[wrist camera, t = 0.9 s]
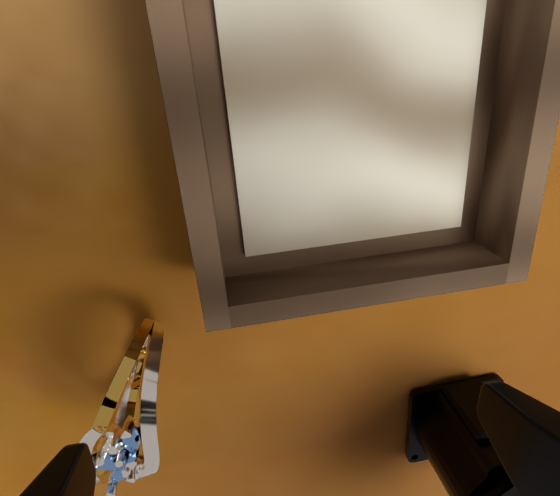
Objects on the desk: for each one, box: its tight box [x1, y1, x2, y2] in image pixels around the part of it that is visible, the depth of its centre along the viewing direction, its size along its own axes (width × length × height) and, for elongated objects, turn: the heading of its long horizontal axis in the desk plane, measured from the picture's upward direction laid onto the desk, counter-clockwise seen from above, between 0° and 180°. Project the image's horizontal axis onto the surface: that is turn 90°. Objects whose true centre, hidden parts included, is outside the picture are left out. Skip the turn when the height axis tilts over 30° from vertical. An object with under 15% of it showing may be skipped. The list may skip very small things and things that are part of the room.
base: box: [145, 0, 560, 332], centre depth 16 cm, size 16×14×6 cm
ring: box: [79, 318, 164, 496], centre depth 19 cm, size 7×3×8 cm, turn 155°
